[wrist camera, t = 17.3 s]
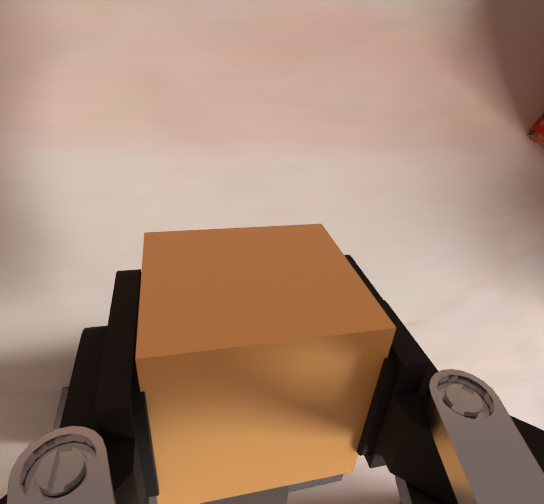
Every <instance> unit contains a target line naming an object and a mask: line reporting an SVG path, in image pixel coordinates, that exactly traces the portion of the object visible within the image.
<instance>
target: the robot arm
mask: <svg viewBox="0 0 544 504" xmlns="http://www.w3.org/2000/svg"><path fill="white" fill-rule="evenodd" d="M344 256H345V257H346V259H347V260H348V261H349V263H350V264H351V266H352V267H353V268H354V270H355V271H356V273H357V274H358V275H359V277H360V278H361V279H362V281H363V282H364V284H365V285H366V286H367V288H368V289H369V291H370V292H371V293H372V295H373V296H374V298H375V299H376V300H377V302H378V303H379V304H380V306H381V307H382V309H383V310H384V311H385V313H386V314H387V316H388V317H389V318H390V320H391V321H392V322H393V324H394V325H395V327H396V331H395V334H394V337H393V341H392V344H391V347H390V351H389V354H388V357H387V358H384V361H383V364H382V367H381V371H380V374H379V377H378V381H377V384H376V387H375V391H374V394H373V397H372V401H371V404H370V407H369V411H368V414H367V417H366V421H365V424H364V428H363V431H362V434H361V438H360V441H359V444H358V448H357V451H356V452H357V453H358V455H360V456H361V455H364V456H365V458H366V460H367V463H368V465H369V467H370V468H374V467H379V466H384V465H387V467H388V469H389V471H390V473H392V474H394V475H395V479H396V484H397V487H398V491H399V495H400V499H401V502H402V504H544V431H543V430H541V429H539V428H537V427H535V426H532V425H530V424H528V423H526V422H523V421H521V420H519V419H517V418H515V417H512V416H510V415H509V414H508V412H507V410H506V409H505V407H504V405H503V404H502V402H501V400H500V399H499V397H498V396H497V394H496V393H495V392H494V390H493V389H492V388H491V387H490V386H488V385H487V384H486V383H485V382H484V381H482V380H481V379H479V378H477V377H476V376H474V375H472V374H469V373H467V372H464V371H460V370H454V369H448V370H441V371H438V370H437V369H436V367H435V366H434V365H433V363H432V362H431V361H430V359H429V358H428V357H427V355H426V354H425V353H424V351H423V350H422V349H421V347H420V346H419V345H418V343H417V342H416V341H415V339H414V338H413V337H412V335H411V334H410V333H409V331H408V330H407V329H406V327H405V326H404V325H403V323H402V322H401V321H400V319H399V318H398V317H397V315H396V314H395V313H394V311H393V310H392V309H391V307H390V306H389V305H388V303H387V302H386V301H385V300H383V299H382V297H381V296H380V295H379V293H378V292H377V291H376V289H375V288H374V287H373V285H372V284H371V283H370V281H369V280H368V279H367V277H366V276H365V274H364V273H363V272H362V270H361V269H360V268H359V266H358V265H357V264H356V262H355V261H354V260H353V258H352V257H351V256H350V255H344ZM140 287H141V269H139V270H125V271H117V273H116V278H115V284H114V290H113V297H112V303H111V309H110V315H109V321H108V326H101V327H91V328H85V329H84V330H83V332H82V335H81V339H80V343H79V347H78V351H77V356H76V360H75V364H74V368H73V372H72V377H71V381H70V385H69V389H68V393H67V398H66V402H65V406H64V410H63V415H62V419H61V423H60V427H59V429H56V430H54V431H52V432H49V433H47V434H45V435H43V436H42V437H40V438H39V439H37V440H36V441H35V442H33V443H32V444H30V445H29V446H28V447H27V449H26V450H25V451H24V452H23V453H22V454H21V455H20V456H19V458H18V459H17V461H16V463H15V464H14V466H13V468H12V470H11V474H10V478H9V482H8V494H6V495H5V496H4V497H3V498H2V499H0V504H149V497H154V496H159V485H158V478H157V472H156V465H155V458H154V451H153V444H152V437H151V430H150V423H149V417H148V410H147V403H146V396H145V391H143V392H140V386H139V380H138V373H137V367H136V360H135V356H136V343H137V329H138V315H139V301H140Z"/></svg>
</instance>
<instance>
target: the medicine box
mask: <svg viewBox="0 0 544 504" xmlns="http://www.w3.org/2000/svg"><path fill="white" fill-rule="evenodd" d="M528 136H529V138H530V139H532V140H533V141H534V142H539V143H541V144H542V145H543V146H544V114H543V115H542V117H541V118H540V119H539V120H538V121H537V123H536V124H535V125H534V126H533V127H532V129H531V134H528Z"/></svg>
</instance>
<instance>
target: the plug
mask: <svg viewBox="0 0 544 504" xmlns="http://www.w3.org/2000/svg"><path fill="white" fill-rule="evenodd" d="M395 331H396V327H395V325H394V324H393V322H392V321H391V320H390V318H389V317H388V316H387V314H386V313H385V311H384V310H383V309H382V307H381V306H380V304H379V303H378V302H377V300H376V299H375V298H374V296H373V295H372V293H371V292H370V291H369V289H368V288H367V286H366V285H365V284H364V282H363V281H362V279H361V278H360V277H359V275H358V274H357V273H356V271H355V270H354V268H353V267H352V266H351V264H350V263H349V261H348V260H347V259H346V257H345V256H344V255H343V253H342V252H341V250H340V249H339V248H338V246H337V245H336V243H335V242H334V241H333V239H332V238H331V236H330V235H329V234H328V232H327V231H326V230H325V228H324V227H323V225H322V224H309V225H289V226H269V227H249V228H229V229H208V230H188V231H168V232H148V233H144V246H143V260H142V273H141V287H140V301H139V315H138V329H137V343H136V356H135V360H136V367H137V373H138V380H139V386H140V392H143V391H145V396H146V403H147V410H148V417H149V423H150V430H151V437H152V444H153V451H154V458H155V465H156V472H157V478H158V485H159V496H157V503H158V504H200V503H201V504H286V501H287V495H288V489H289V485H292V484H297V483H301V482H306V481H311V480H316V479H321V478H326V477H330V476H335V475H340V474H345V473H350V472H353V469H354V466H355V462H356V459H357V456H358V453H357V452H356V451H357V448H358V444H359V441H360V438H361V434H362V431H363V428H364V424H365V421H366V417H367V414H368V411H369V407H370V404H371V401H372V397H373V394H374V391H375V387H376V384H377V381H378V377H379V374H380V371H381V367H382V364H383V361H384V358H387V357H388V354H389V351H390V347H391V344H392V341H393V337H394V334H395Z"/></svg>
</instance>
